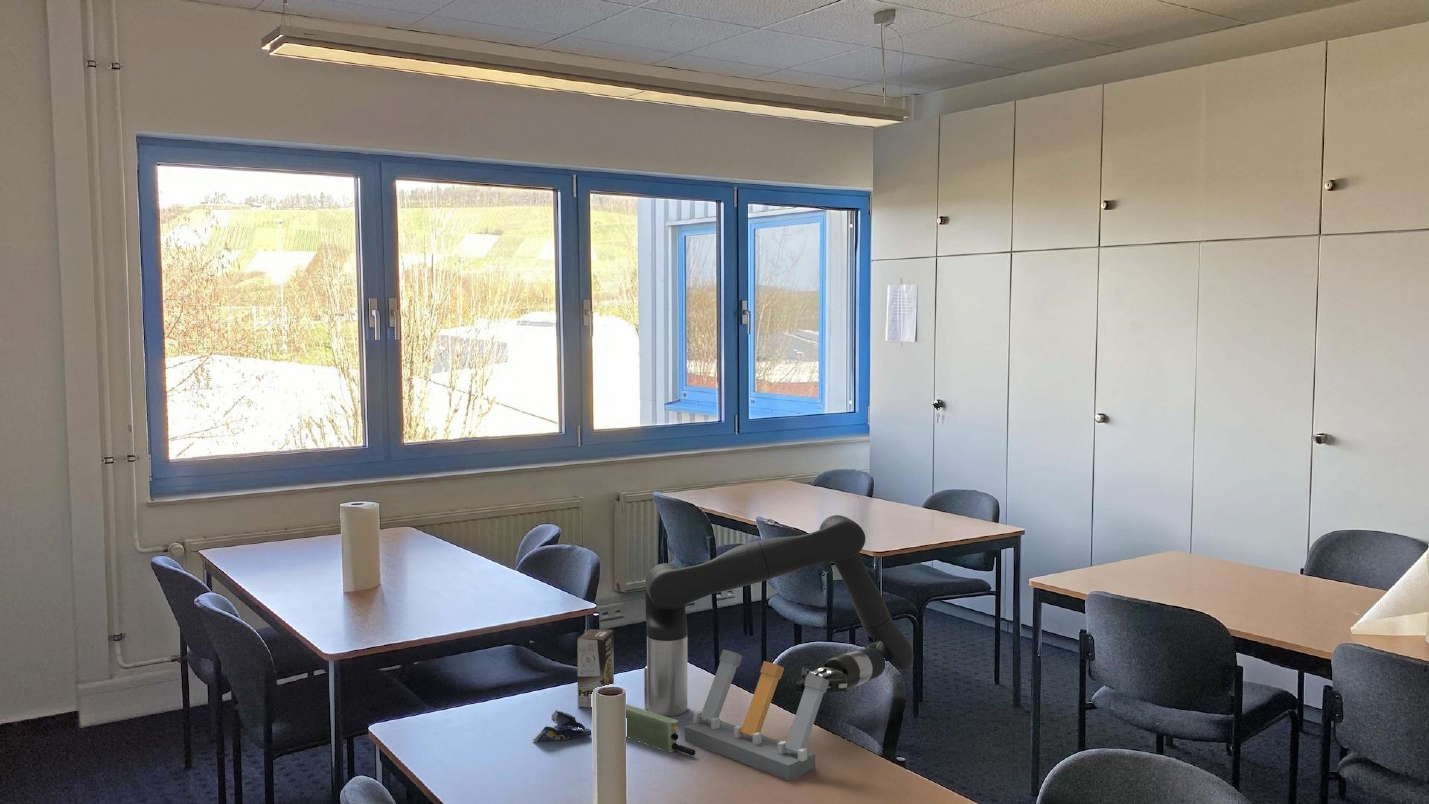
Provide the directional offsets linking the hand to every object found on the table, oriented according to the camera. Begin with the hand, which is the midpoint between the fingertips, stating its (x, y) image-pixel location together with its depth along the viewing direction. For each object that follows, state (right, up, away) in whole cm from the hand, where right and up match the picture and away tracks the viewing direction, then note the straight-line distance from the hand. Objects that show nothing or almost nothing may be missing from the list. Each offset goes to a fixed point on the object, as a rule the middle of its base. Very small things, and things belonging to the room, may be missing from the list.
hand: (798, 688), depth 226 cm
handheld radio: (-32, -11, -4) cm, 34 cm away
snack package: (-50, -11, -1) cm, 51 cm away
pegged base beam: (-11, -11, -11) cm, 19 cm away
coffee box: (-46, -9, +21) cm, 51 cm away
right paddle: (-3, -8, -19) cm, 21 cm away
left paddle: (-20, -7, -2) cm, 21 cm away
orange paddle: (-11, -8, -11) cm, 17 cm away
